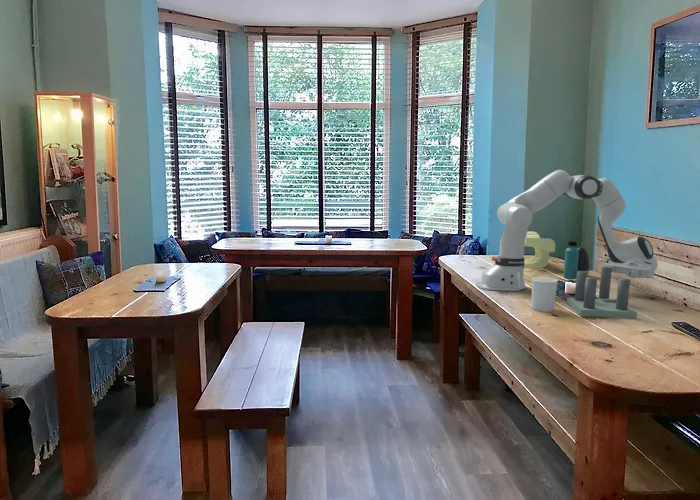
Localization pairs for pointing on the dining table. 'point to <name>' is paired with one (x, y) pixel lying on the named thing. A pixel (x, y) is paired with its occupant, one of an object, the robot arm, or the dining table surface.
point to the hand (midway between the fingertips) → (619, 271)
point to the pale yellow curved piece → (538, 250)
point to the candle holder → (543, 293)
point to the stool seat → (595, 307)
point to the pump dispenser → (583, 260)
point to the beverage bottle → (571, 261)
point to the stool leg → (605, 282)
